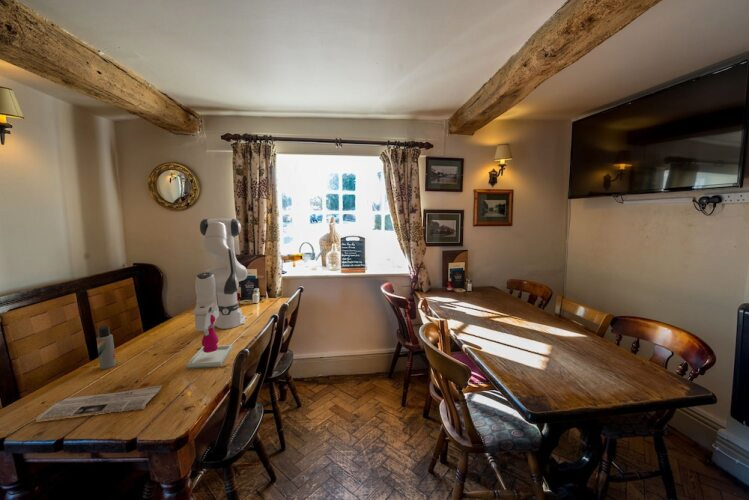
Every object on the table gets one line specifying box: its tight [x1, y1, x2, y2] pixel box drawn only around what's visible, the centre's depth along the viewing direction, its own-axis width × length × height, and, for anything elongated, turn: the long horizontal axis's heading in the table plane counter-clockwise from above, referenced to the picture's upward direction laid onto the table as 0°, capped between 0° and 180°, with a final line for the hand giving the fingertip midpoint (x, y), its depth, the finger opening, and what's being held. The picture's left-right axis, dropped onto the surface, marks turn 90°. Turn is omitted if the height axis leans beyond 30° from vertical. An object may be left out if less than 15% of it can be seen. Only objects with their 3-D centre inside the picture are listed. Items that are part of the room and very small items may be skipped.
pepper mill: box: [201, 315, 219, 353], centre depth 147 cm, size 7×7×20 cm
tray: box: [186, 344, 233, 370], centre depth 148 cm, size 18×15×2 cm
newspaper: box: [35, 384, 163, 420], centre depth 113 cm, size 35×12×4 cm, turn 103°
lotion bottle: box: [96, 325, 117, 370], centre depth 139 cm, size 6×6×20 cm
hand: (209, 332), depth 147 cm, fingers closed on pepper mill, 5 cm apart
